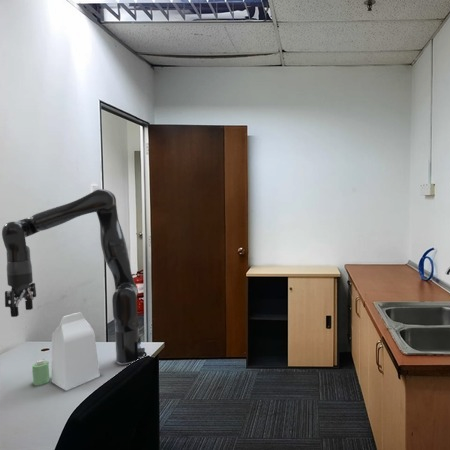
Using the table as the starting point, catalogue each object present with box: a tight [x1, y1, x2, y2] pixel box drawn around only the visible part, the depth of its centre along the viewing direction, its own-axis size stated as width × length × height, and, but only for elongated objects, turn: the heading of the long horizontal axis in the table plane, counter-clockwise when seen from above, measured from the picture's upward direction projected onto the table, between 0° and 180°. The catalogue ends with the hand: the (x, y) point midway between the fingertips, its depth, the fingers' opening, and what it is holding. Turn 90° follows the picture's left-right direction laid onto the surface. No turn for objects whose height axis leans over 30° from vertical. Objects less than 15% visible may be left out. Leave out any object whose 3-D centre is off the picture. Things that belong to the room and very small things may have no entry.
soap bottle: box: [31, 358, 51, 387], centre depth 129 cm, size 5×5×8 cm
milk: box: [51, 311, 101, 392], centre depth 130 cm, size 12×12×26 cm
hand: (22, 312), depth 131 cm, fingers open, 8 cm apart
